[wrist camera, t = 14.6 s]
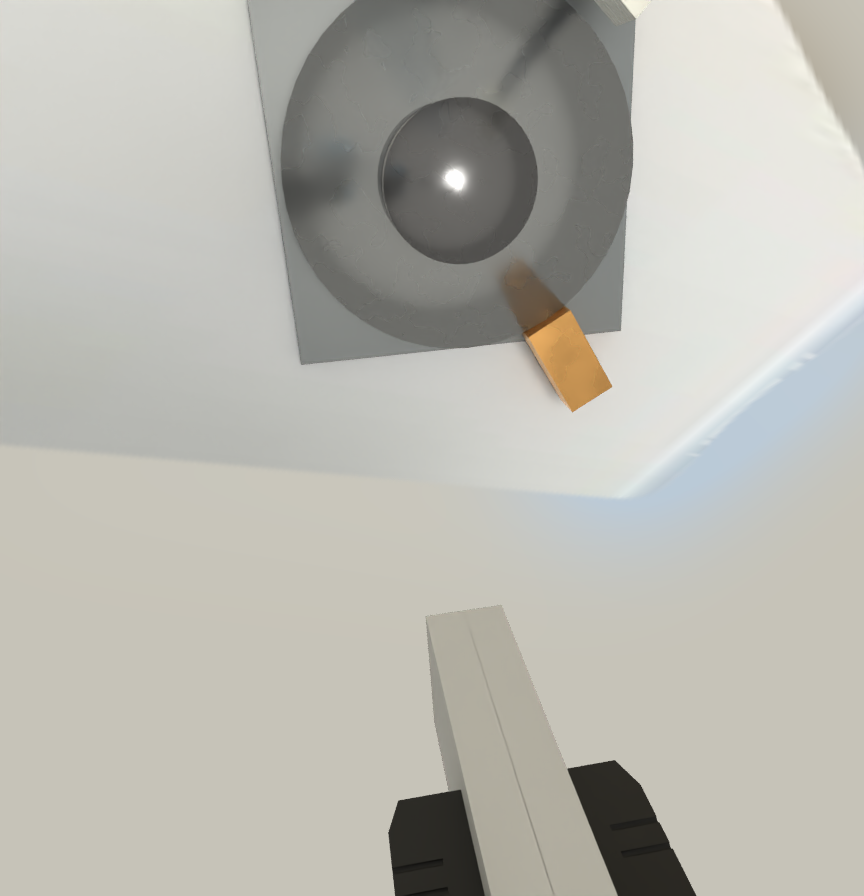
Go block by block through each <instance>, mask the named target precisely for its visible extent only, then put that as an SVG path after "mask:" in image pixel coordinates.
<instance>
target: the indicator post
mask: <svg viewBox="0 0 864 896" xmlns="http://www.w3.org/2000/svg"><path fill="white" fill-rule="evenodd" d="M594 1H595V2H596V3H597V4H598V6H599V7H600V8H601V9H602V10H603V12H604V13H605V14H606V15H607V16H608V18H609V19H610V20H611V21H612V22H613V24H614V25H615V26H618V25H621V24H624V23H627V22H629V21H632V20H635V19H637V18H638V16H639V15H640V14H641V13H642V12H643V10H644V9H645V8H646V7H647V6H648V4H649V3H650V2H651V1H652V0H594Z"/></svg>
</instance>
